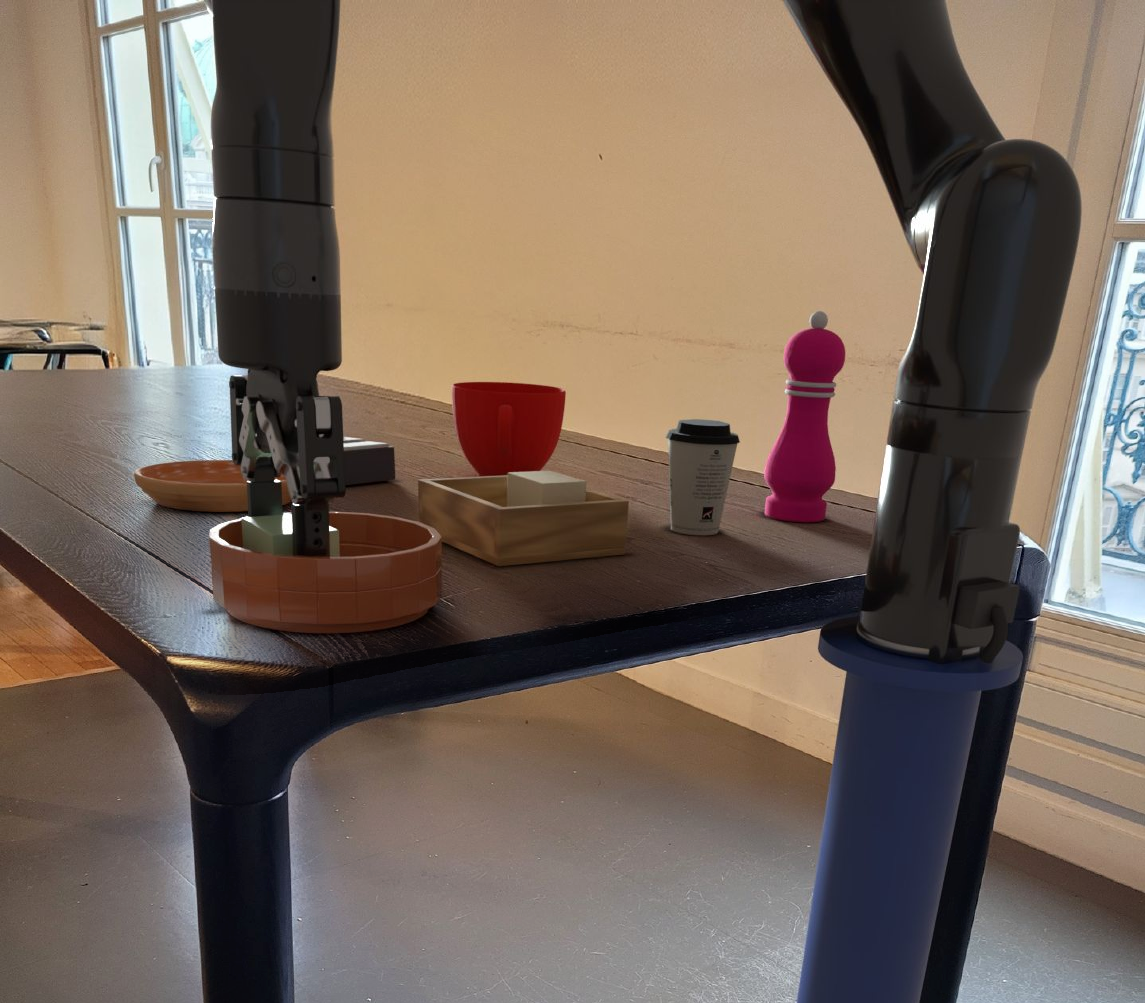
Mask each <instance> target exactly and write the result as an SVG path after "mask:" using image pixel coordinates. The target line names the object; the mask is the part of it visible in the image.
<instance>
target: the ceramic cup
mask: <svg viewBox="0 0 1145 1003" xmlns="http://www.w3.org/2000/svg"><path fill="white" fill-rule="evenodd" d="M566 394H567V392H566V390H565V389H564V388H561V387H558V386H557V387H556V386H551V385H545V384H544V385H543V384H533V383H523V382H507V381H464V382H457V383H453V384H452V385H451V403H452V404H451V406H452V416H453V417H452V418H453V426H454V430H455V435H456V438H457V439H456V440H457V442H458V445H459V447H460V450H461V452H462V454H463V455H464V457H465V459H466V460H467V462H468V463H469V465H470V466H471V467H472V468H473V470H474V471H475V472H476V473H477V477H481V476H501V475H508V472H529V471H542V469H543V468H544V467H545V466H546V464H547V463H548V462H549V461H550V459H551V457H552V455H553V454H554V452H555V451H556V448H557V445H558V442H559V440H560V436H561V434H562V433H561V432H562V427H563V422H564V415H565V407H566V396H567V395H566Z"/></svg>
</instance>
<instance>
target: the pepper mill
mask: <svg viewBox="0 0 1145 1003" xmlns="http://www.w3.org/2000/svg"><path fill="white" fill-rule="evenodd" d="M828 322H829V318H828V315H827V314H826V313H825V312H824V311H821V310H818V311H815V312H813V313H812V314H811V315H810V317H809V325H810V327H809V328H805V329H801V330H798V331H797V332H795V333H794V334H793V335H792V336H791V337H790V338H789V339H788V341H787V343H786V345H785V347H784V351H783V365H784V368H785V370H786V371H787V373H788V374H789V378H788V379H786V380H785V384H786V386H785V390H784V394H786V395H787V408H786V414H785V419H784V422H783V425H782V428H781V430H780V432H779V434H778V436H777V438H776V440H775V442H774V444H773V447H772V448H771V450H770V451H769V454H768V457H767V459H766V462H765V468H764V472H763V473H764V474H763V475H764V476H763V477H764V481H765V483H766V485H767V486H768V487H769V489H770V491H771V493H772V494H771V495H768V496H767V497H766V498H765V506H764V515H765V516H766V517H768V518H770V519H774V520H778V521H784V522H785V521H786V522H792V523H818V522H822V521H824V520H825V519H826V515H827V514H826V513H827V507H828V502H827V501H826V500H825V499H823V497H824V495H826V493H827V492H828V491H829V490H831V488H832V487H833V486H834V484H835V482H836V472H837V470H836V469H837V467H836V458H835V454H834V451H833V447H832V443H831V439H830V432H829V424H828V423H829V422H828V420H829V409H830V404H831V399H832V398H834V397H835V396H836V393H835V389H836V387H837V383H836V382H835V381H834V379H835V377H836V376H838V374H839V373H840V372H841V371H842V370H843V368H844V365H845V362H846V346H845V344H844V341H843V339H842V338H841V337H840V336H839V335H838V334H836V332H833V331H832V330H829V329H826V327H827V326H828Z"/></svg>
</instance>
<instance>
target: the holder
mask: <svg viewBox="0 0 1145 1003" xmlns="http://www.w3.org/2000/svg"><path fill="white" fill-rule="evenodd" d="M417 504H418V505H417V522H420V523H423V524H425V525H427V526H430V527H432V528H434V529H436V530H437V531H438V533H439V534H440V535H441V537H442V543H444V544H447V545H449V546H451V547H453V548H456V549H458V550H460V551H463V552H465V553H467V554H469V555H472V556H474V557H475V558H478V559H481V560H483V561H485V562H487V563H489V564H491V565H494V566H496V567H506V566H508V567H509V566H519V565H528V564H529V565H531V564H539V563H550V562H558V561H559V562H560V561H570V560H580V559H581V560H582V559H591V558H601V557H611V556H612V557H613V556H623V555H625V554H626V546H627V531H628V520H629V519H628V516H629V500H627V499H623V498H620V497H617V496H614V495H610V494H607V493H604V492H600V491H598V490H594V489H591V488H587V487H586V502H574V503H559V504H543V505H528V506H513V507H507V475H501V476H481V477H479V476H463V477H444V478H421V479H417Z"/></svg>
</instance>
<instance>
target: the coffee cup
mask: <svg viewBox="0 0 1145 1003" xmlns="http://www.w3.org/2000/svg"><path fill="white" fill-rule="evenodd" d="M665 439H667V444H668V445H667V448H668V449H667V451H668V479H669V480H668V481H669V507H670V508H669V513H670V530H671V531H672V532H675V533H678V534H684V535H689V536H712V535H717V534H718V533H719V530H720V526H721V522H722V516H723V512H724V507H725V503H726V499H727V493H728V489H729V484H730V479H731V475H732V472H733V471H732V470H733V465H734V461H735V457H736V452H737V447H738V444H740V443H741V441H740V438H739V435H738V433H735V432H731V424H730V423H728V422H724V421H720V420H713V419H701V418H700V419H698V418H695V419H694V418H693V419H681V420H678V422H677V426H676V428H672V429H668V431H667V433H666V435H665Z"/></svg>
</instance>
